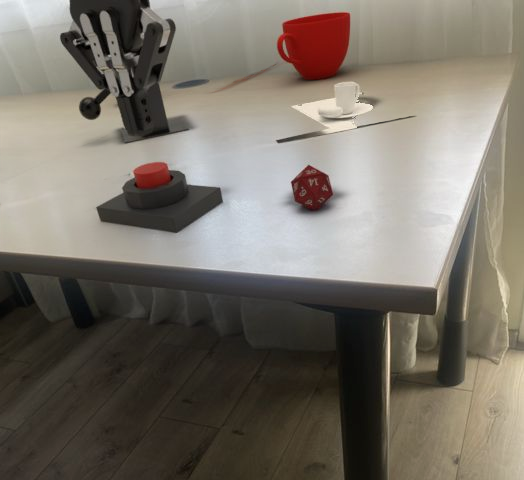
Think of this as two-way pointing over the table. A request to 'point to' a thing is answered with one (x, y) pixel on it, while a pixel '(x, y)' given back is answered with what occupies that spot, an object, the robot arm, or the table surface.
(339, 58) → the ceramic cup
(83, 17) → the robot arm
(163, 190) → the grey button base
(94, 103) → the switch lever
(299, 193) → the dice
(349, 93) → the teacup and saucer
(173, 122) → the switch bracket
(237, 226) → the table surface
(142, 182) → the stop button
